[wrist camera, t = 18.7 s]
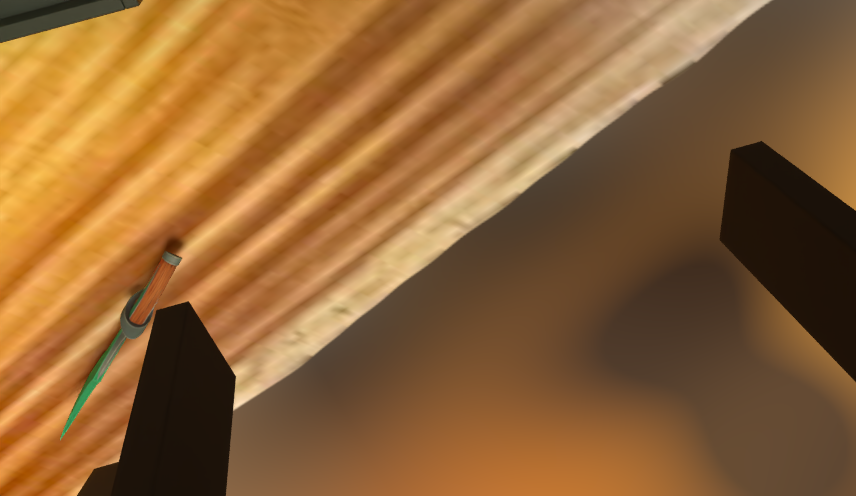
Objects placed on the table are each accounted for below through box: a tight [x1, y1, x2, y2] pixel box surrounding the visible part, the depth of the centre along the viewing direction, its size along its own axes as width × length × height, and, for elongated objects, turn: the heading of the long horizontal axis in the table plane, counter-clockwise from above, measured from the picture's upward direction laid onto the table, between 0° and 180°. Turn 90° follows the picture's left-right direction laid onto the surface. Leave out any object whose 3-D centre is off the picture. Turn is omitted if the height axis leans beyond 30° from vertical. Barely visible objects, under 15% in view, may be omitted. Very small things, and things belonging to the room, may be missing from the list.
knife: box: [60, 251, 182, 440], centre depth 48 cm, size 20×2×5 cm, turn 143°
